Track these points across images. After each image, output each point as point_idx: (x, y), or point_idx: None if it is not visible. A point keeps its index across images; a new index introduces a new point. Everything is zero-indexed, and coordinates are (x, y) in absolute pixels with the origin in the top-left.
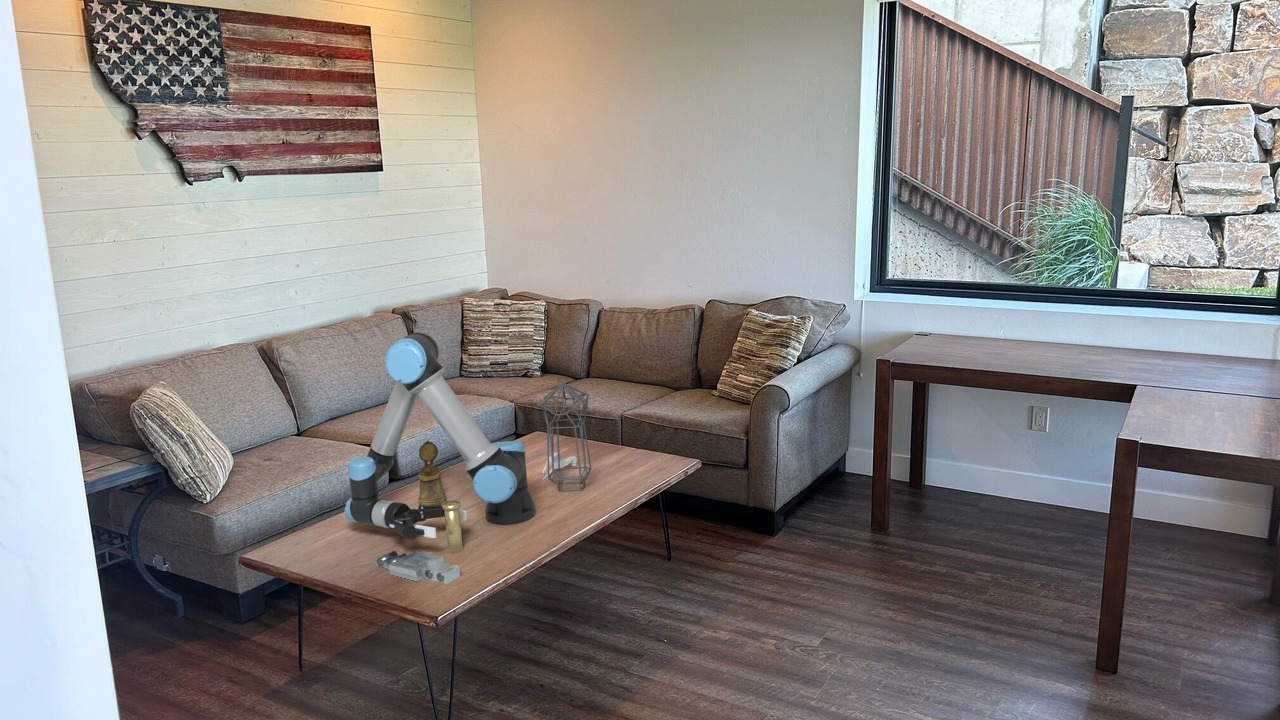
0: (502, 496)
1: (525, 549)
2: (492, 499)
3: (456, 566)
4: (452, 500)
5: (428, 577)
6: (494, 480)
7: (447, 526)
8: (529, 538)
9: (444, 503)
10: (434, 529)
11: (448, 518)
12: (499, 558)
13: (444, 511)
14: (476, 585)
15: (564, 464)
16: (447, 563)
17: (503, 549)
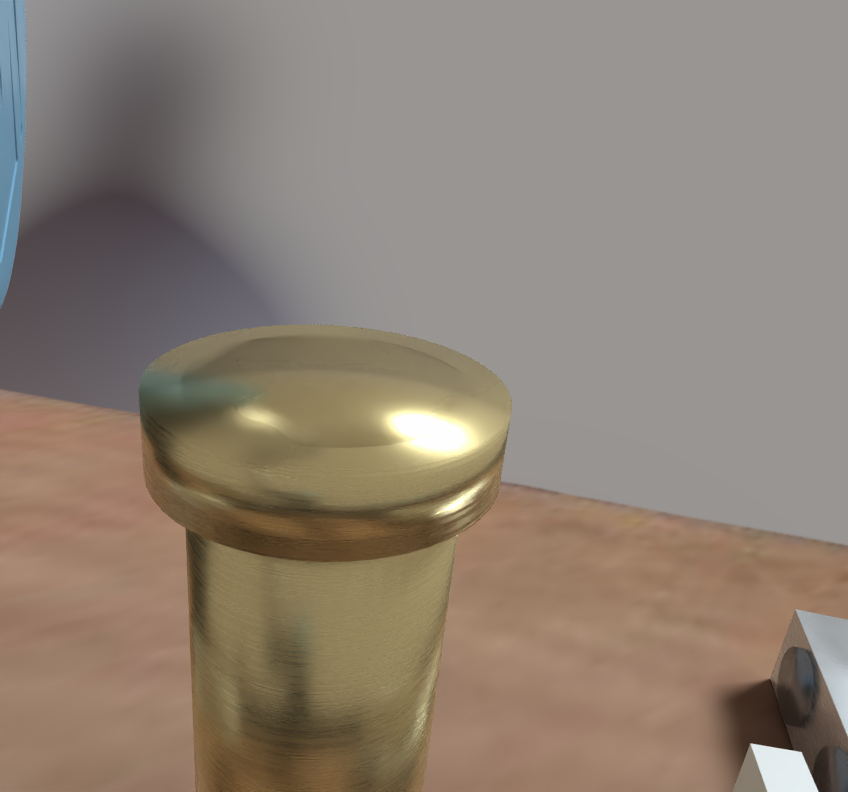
0: (16, 231)
1: None
2: (1, 286)
3: (818, 620)
4: (171, 388)
5: None
6: (8, 26)
7: (426, 749)
8: (59, 516)
9: (371, 438)
10: (777, 760)
11: (447, 606)
12: None
13: (420, 571)
14: (782, 567)
15: None
16: (839, 697)
17: None
